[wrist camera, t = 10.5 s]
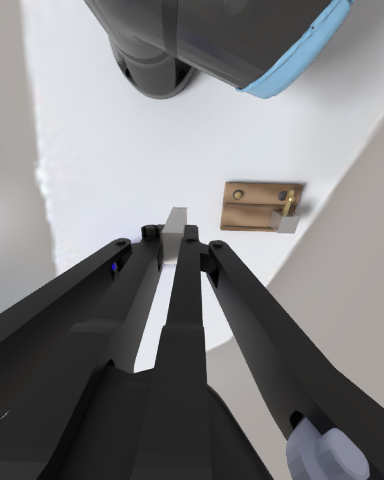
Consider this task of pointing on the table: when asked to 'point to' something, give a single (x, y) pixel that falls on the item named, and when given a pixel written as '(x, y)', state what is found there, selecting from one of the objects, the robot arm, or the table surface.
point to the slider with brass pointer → (284, 217)
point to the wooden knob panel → (254, 205)
